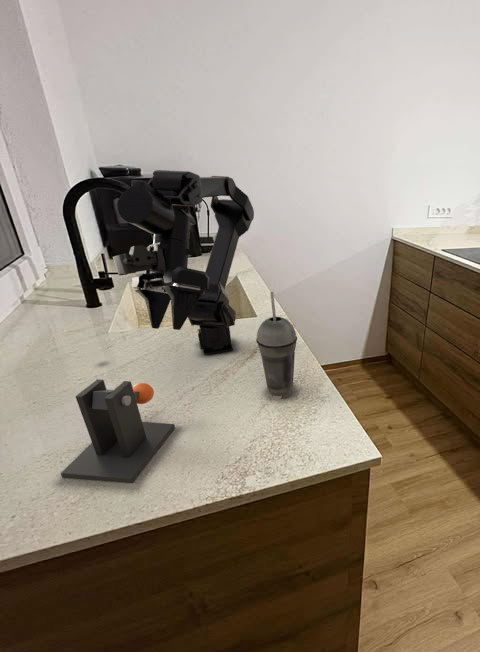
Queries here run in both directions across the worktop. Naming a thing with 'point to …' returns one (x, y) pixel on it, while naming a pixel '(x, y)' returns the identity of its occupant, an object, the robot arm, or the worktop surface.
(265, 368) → the beverage cup
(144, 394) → the lever
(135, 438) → the switch bracket
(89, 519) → the worktop surface
